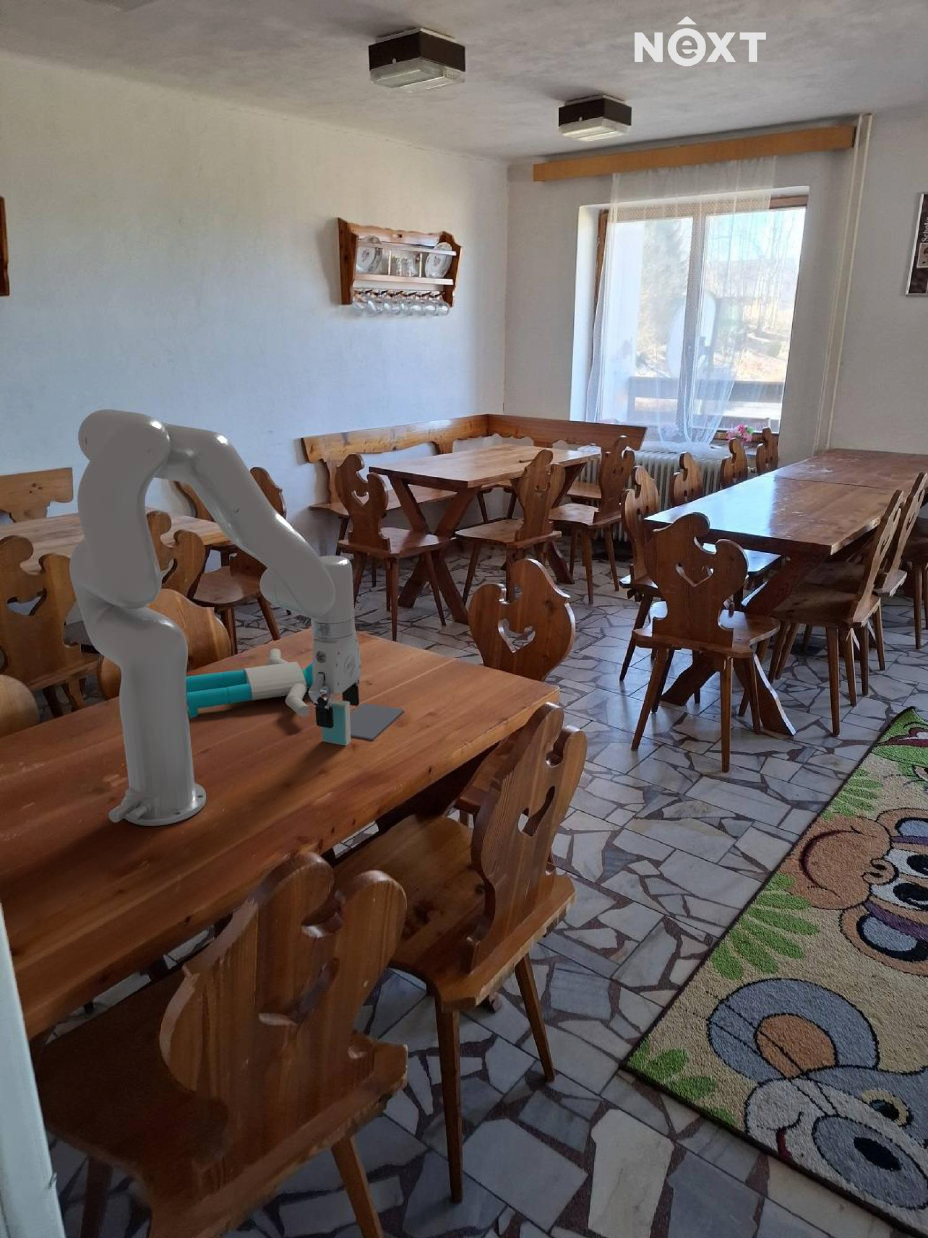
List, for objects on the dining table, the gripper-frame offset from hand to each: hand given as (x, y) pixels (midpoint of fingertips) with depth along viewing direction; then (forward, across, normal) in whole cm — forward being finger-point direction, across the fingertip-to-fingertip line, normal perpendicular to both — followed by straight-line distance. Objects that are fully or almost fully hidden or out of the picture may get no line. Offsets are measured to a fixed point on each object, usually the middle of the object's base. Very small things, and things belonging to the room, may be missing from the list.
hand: (338, 715), depth 154 cm
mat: (+5, +9, -1) cm, 11 cm away
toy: (+6, +12, +24) cm, 28 cm away
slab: (+5, -1, 0) cm, 5 cm away
